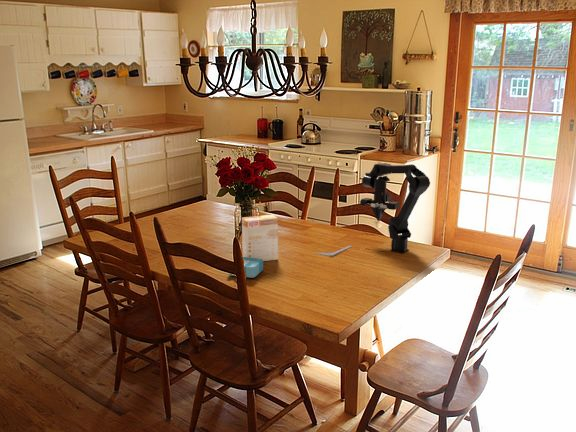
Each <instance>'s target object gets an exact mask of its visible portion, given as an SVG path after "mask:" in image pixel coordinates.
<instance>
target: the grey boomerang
mask: <svg viewBox="0 0 576 432" xmlns="http://www.w3.org/2000/svg"><path fill="white" fill-rule="evenodd" d="M352 247H353V246H352V245H348V246H345V247H342V248H340V249H339V250H336V251H334V252H313V254H314V253H315V254H318V255H323V256H326V257H330V258H333V257H335V256H337V255H338V254H341V253H342V252H344V251H346V250H347V249H350V248H352Z"/></svg>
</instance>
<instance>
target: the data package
mask: <svg viewBox="0 0 576 432" xmlns="http://www.w3.org/2000/svg"><path fill="white" fill-rule="evenodd" d="M242 257H243V256H242ZM243 260H244V267H245V273H246V277H245V278H251V279H252V278H255V277H257V276H258V275H259V274H260V273H261V272H262V271H263V270H264V261H263V259H259V258H249V257H243ZM228 276H233V277H236V276H235V275H232V274H228Z"/></svg>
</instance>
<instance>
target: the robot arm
mask: <svg viewBox="0 0 576 432" xmlns="http://www.w3.org/2000/svg"><path fill="white" fill-rule="evenodd" d="M391 174H404V175H405V177H406V181H407V182H408V184H409V185H408V191H409V192H408V194H407V196H406V198H405V200H404V202H403V204H402V206H401V208H400V203H399V201H391V200H392V195H391V194H388V191H387V183H388V182H390V181H391V180H390V179H391V178H389V177H388V175H391ZM361 185H362V186H363V187H368V188H371V189H373V191H372V194H373V198H370V197H364V198H361V199H360V201H359V206H363V207H365V206H367V205H370V209H372V211H373V214H374V216H375V218H376V220H377V222H380V221H381V220H382V217H383V214H384V212H385V211H386V210H387V209H388V210H392V211H395V210H398V209H400V211H399V212H398V215H397V216H392V217H391V218H390V221H389V222H388V226H387V227H388V228H387V229H388V233H389V238H390V239H391V246H390V247H391V248H390V252H395V253H400V254H404V253H406V252H408V251H410V250H409V248H408V242H409V241H408V240H409V239H410V238H411V236H412V232H411V231H410V230H409V218H410V216H411V214H412V212H413V210H414V208H415V206H416V204H417V203H418V200H419V198H420V196H421V195H423V194H424V193H425V192H426V191H427V190H428V188H430V185H431V181H430V178H429V176H427V174H425V172H423V171H422V170H420V169H419V168H418V167H417V166H416V165H415V164H413V163H412V164H398V165H397V164H395V165H394V164H393V165H392V164H390V163H386V162H384V163H375V164H373V167H372V169H371V171H370V172H365V174H364V176H363V177H362V179H361Z"/></svg>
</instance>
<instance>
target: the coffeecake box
mask: <svg viewBox="0 0 576 432" xmlns="http://www.w3.org/2000/svg"><path fill="white" fill-rule="evenodd" d="M241 241H242V244H241V247H242V257H249V258H259V259H263V262H268V261H276V260H279V218H278V216H276V215H275V214H265V215H255V216H253V215H252V216H244V217H241Z"/></svg>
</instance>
